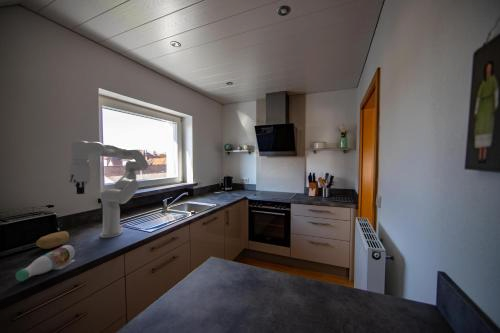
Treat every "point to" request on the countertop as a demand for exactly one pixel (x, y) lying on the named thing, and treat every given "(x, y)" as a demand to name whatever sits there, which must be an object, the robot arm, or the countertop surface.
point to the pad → (64, 264)
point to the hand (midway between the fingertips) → (80, 193)
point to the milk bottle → (47, 262)
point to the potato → (52, 240)
